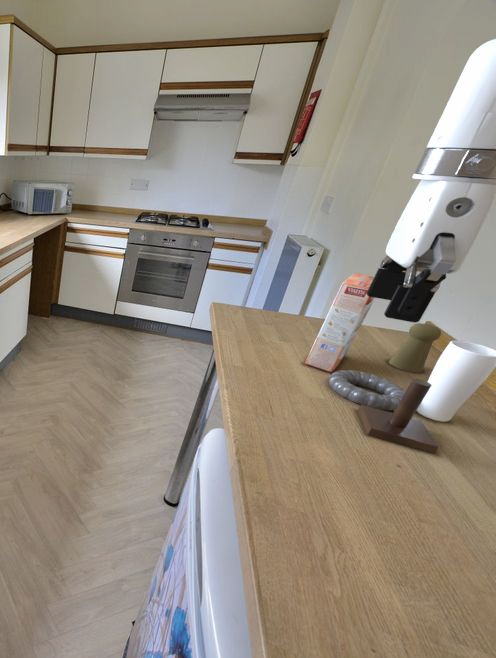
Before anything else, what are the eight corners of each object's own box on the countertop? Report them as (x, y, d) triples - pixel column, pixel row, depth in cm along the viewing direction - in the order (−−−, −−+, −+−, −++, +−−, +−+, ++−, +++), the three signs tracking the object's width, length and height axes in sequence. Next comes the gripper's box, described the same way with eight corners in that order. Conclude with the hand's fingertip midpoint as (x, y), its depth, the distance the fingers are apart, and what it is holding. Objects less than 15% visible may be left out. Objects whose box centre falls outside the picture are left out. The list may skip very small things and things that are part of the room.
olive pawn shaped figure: (387, 358, 104) (408, 318, 99) (419, 365, 101) (443, 325, 96) (390, 366, 100) (413, 325, 95) (424, 375, 97) (449, 333, 92)
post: (417, 426, 77) (447, 379, 73) (434, 453, 70) (468, 403, 66) (357, 410, 81) (382, 364, 77) (367, 434, 74) (395, 385, 70)
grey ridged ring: (395, 391, 89) (402, 379, 88) (414, 421, 79) (422, 408, 78) (322, 373, 95) (327, 362, 94) (331, 399, 85) (337, 387, 83)
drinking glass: (400, 408, 83) (442, 342, 76) (418, 402, 85) (459, 338, 78) (444, 428, 77) (493, 359, 70) (461, 421, 80) (510, 354, 73)
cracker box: (333, 374, 95) (376, 288, 85) (303, 364, 99) (340, 281, 89) (346, 357, 103) (386, 277, 94) (317, 349, 107) (353, 271, 98)
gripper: (555, 173, 38) (453, 337, 46) (475, 169, 52) (406, 296, 59) (446, 166, 41) (368, 321, 49) (397, 164, 55) (342, 286, 63)
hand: (389, 307), depth 54 cm, fingers open, 9 cm apart
